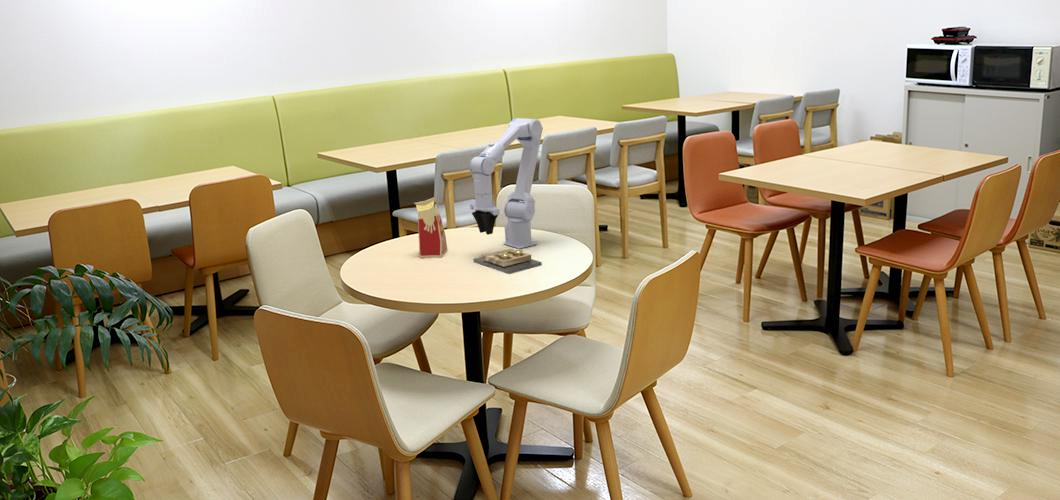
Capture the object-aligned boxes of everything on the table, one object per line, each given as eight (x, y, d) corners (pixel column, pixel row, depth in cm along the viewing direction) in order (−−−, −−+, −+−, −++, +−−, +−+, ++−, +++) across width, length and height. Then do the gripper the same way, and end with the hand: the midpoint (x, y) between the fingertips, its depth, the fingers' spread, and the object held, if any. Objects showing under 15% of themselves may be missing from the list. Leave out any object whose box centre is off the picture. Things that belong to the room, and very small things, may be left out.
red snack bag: (447, 250, 313) (442, 194, 308) (442, 257, 305) (437, 199, 299) (422, 251, 314) (416, 195, 309) (416, 258, 306) (410, 200, 300)
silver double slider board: (473, 261, 297) (472, 249, 296) (505, 253, 305) (504, 241, 304) (508, 273, 282) (508, 261, 281) (541, 265, 289) (540, 252, 288)
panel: (482, 259, 294) (482, 255, 294) (509, 252, 301) (509, 248, 300) (503, 266, 285) (503, 261, 285) (531, 259, 291) (531, 254, 291)
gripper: (461, 192, 299) (464, 231, 303) (485, 198, 288) (488, 238, 292) (478, 188, 303) (481, 227, 307) (503, 194, 292) (506, 234, 296)
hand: (486, 233), depth 299 cm, fingers open, 3 cm apart
